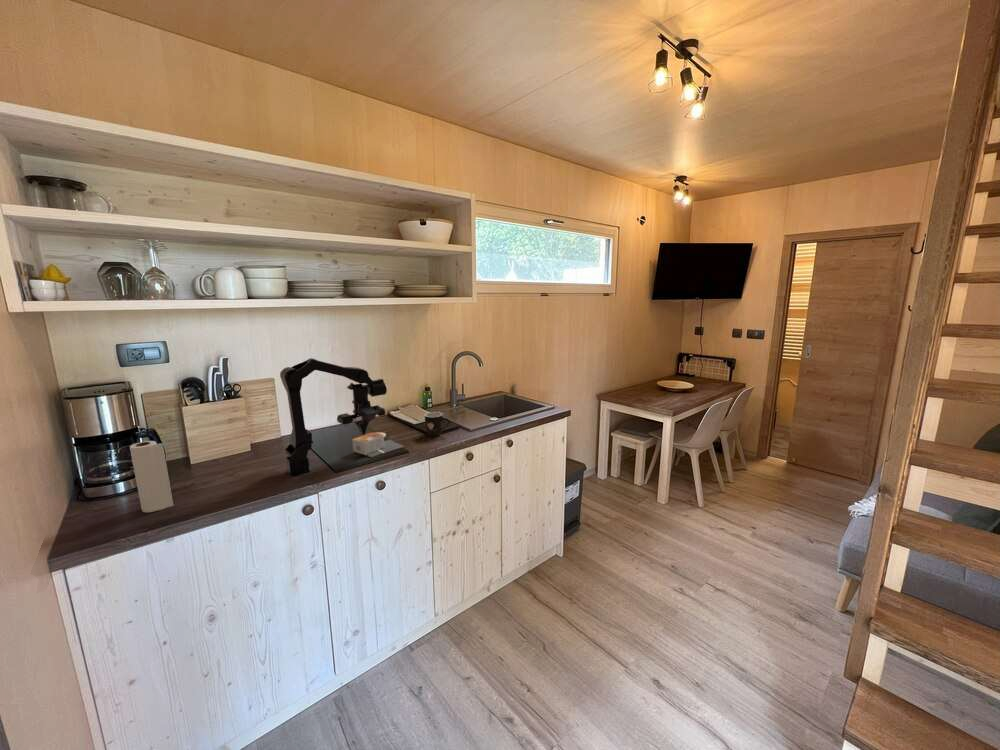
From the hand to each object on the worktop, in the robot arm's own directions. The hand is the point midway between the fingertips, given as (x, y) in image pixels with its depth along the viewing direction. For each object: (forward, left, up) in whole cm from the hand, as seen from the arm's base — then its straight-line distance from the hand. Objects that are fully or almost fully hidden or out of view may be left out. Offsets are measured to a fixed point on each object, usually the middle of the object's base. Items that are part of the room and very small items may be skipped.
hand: (363, 434), depth 166 cm
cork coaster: (+14, +16, -8) cm, 23 cm away
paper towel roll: (-67, +6, -9) cm, 68 cm away
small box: (-2, +1, -5) cm, 6 cm away
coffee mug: (+35, -3, -9) cm, 36 cm away
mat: (+8, 0, -8) cm, 11 cm away
